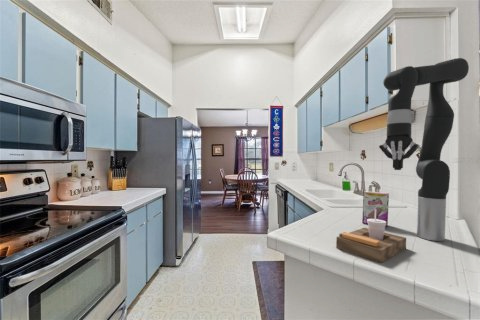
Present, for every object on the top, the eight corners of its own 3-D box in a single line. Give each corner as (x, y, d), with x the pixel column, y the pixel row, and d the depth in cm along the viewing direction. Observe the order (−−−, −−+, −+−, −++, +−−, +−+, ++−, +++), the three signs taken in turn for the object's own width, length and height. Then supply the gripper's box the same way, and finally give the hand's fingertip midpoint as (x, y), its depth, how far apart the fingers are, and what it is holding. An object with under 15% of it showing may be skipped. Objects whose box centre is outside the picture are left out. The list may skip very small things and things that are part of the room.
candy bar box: (362, 223, 119) (363, 191, 119) (363, 221, 123) (363, 190, 123) (388, 227, 113) (388, 193, 113) (388, 225, 117) (388, 192, 117)
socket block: (364, 237, 98) (364, 227, 98) (406, 248, 86) (406, 237, 86) (336, 247, 85) (336, 236, 85) (380, 263, 73) (381, 250, 73)
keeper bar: (343, 235, 87) (343, 231, 87) (379, 244, 77) (379, 241, 77) (339, 236, 85) (339, 233, 85) (375, 246, 75) (375, 242, 75)
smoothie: (362, 243, 90) (363, 207, 90) (378, 243, 91) (379, 207, 91) (373, 249, 84) (374, 211, 84) (390, 249, 84) (391, 211, 84)
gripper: (375, 124, 89) (374, 169, 89) (417, 119, 79) (415, 171, 79) (383, 126, 94) (382, 169, 94) (424, 122, 83) (422, 170, 83)
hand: (397, 169), depth 86 cm, fingers closed
